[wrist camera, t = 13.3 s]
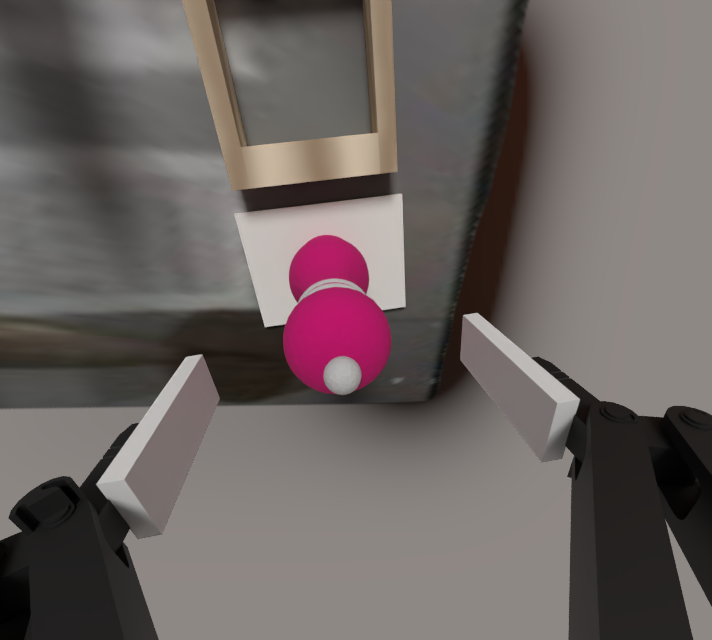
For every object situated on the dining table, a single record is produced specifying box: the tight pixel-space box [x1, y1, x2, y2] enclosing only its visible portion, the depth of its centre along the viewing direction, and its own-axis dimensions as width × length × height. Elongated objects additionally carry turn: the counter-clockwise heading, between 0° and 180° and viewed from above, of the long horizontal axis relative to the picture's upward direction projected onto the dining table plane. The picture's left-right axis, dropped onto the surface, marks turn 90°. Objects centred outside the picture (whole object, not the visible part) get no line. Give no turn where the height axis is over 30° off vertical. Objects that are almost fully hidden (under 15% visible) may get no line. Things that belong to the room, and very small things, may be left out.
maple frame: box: [182, 0, 397, 191], centre depth 23 cm, size 14×17×3 cm
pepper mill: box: [283, 235, 391, 395], centre depth 22 cm, size 7×7×20 cm
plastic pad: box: [234, 194, 405, 327], centre depth 31 cm, size 16×12×1 cm
